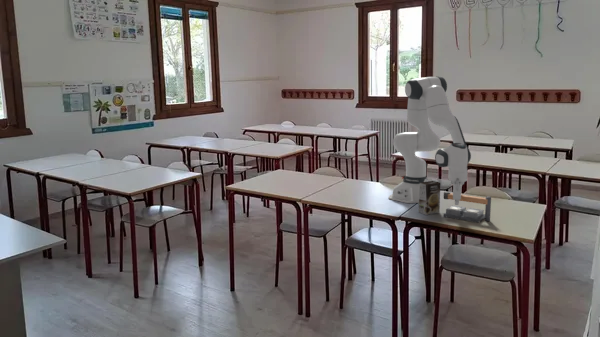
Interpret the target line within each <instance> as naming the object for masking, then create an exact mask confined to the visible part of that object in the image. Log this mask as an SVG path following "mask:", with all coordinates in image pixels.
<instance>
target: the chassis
mask: <svg viewBox="0 0 600 337" xmlns="http://www.w3.org/2000/svg"><path fill="white" fill-rule="evenodd" d="M466 208H467V207H466V206H459V205H455V204H454V205H453V204H452V205H451V206H448V207H447V208H446V209H445V212H444V213H443V215H442V216H444V218H449V217H450V219H455V218H456V220H461V219H462V221H467V222H473V223H480V222H481V221H483V220H485V212H484V211H485V210H484V209H478V208H472V207H469V208H467V209H466Z"/></svg>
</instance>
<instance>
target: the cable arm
mask: <svg viewBox="0 0 600 337" xmlns="http://www.w3.org/2000/svg"><path fill="white" fill-rule="evenodd" d="M443 199H444V200H451V201H452V200H453V201H455V200H454V199H453V192H448V191H444V192H443ZM459 202H468V203H474V204H480V205H485V208H484V209H485V210H484V211H485V212H484V214H485V218H484V221H487V222H490V221H491V211H492V208H491V207H492V197H491V196H486V197H481V196H474V195H466V194H461V199H460V200H459Z"/></svg>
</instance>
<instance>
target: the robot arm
mask: <svg viewBox="0 0 600 337" xmlns="http://www.w3.org/2000/svg"><path fill="white" fill-rule="evenodd" d="M447 89H448V83H447V81H446V79H445V78H444V77H443V76H426V77H419V78H412V79H409V80H407V81H406V83H405V86H404V92H405V95H406V97H407V98H408V99H407V107H406V108H407V109H406V111H407V115H406V117H407V118H406V121H407V122H408V124H409V125H410V126H412V127H414V128H416V129H417V131H404V132H400V133H396V134H395V135H394V137H393V140H392V144H393V147H394V149H395V150H396V151H397V152H398V153H399V154H400V155H401V156H402V157H403V159H404V162H405V175H403V176H402V177H401V180H402V182H400V183H399V184H397V185H395V186H394V187H393V190H392V194H390V195H388V200H393V201H396V202H402V203H405V204H416V203H417V204H419V187H420V183H421V182H428V180H427V179H428V177H427V163H426V161H425V160H424V159H422V158H421V157H419V156H417V155H416V152H423V153H424V152H432V151H436V152H435V154H434V157H435V158H434V161H435V163H436V165H437V166H438V167H439V168H440V167H441V168H448V175H447V176H448V181H450V184H451V185H453V186H452V187H453V189H452V193H453V199H454V200H453V201H454V206H459V204H460V203H459V202H460V201H459V200H460V199H461V195H462V189H463V188H462V187H463V185H465V182H467V181H468V165H469V163H470V161H471V159H472V153H471V150H470V149H469V147H468V144H467V143H466V140H465V137H464V134H463V130H462V127H461V125H460V122H459V120H458V119H457V117H456V116H455V115H454V114H453V113H452V111H451V109H450V105H449V101H448V100H449V99H448V96H447V93H446V92H447ZM430 122H431V123H433V124H434V125H436V126H439V127H441V128H444V129H446V130H447V131H448V132H449V134H450V136H451V139H452V142H453V143H451V144H450V145H448V146H447V147H443V148H439V147H440V145H441V138H440V135H439V134H438V133H437V132H436V131H434V130H433V129H432V128H431V126H430V124H429V123H430Z"/></svg>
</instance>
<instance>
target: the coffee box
mask: <svg viewBox="0 0 600 337" xmlns="http://www.w3.org/2000/svg"><path fill="white" fill-rule="evenodd" d="M440 210H441V182H440V181H435V180H427V182H421V183H420V187H419V203H418V213H420V214H422V215H425V216H428V215H433V214H439V213H440Z"/></svg>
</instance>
